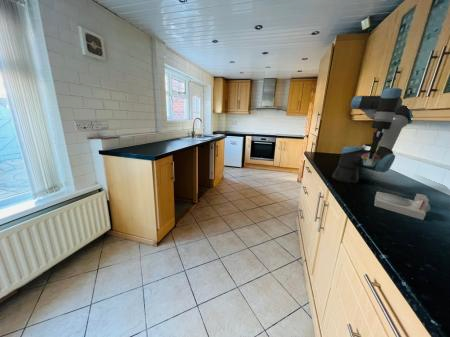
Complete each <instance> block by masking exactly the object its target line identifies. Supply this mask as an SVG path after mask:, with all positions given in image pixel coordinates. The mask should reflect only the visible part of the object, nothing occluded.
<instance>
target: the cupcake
mask: <svg viewBox="0 0 450 337" xmlns="http://www.w3.org/2000/svg"><path fill="white" fill-rule="evenodd" d="M379 146H380V145H379ZM379 146H378V147H377V149H376V152H377V150H378V148H379ZM368 154H369V153H365V154H362V156H361V158H362V159H363V165H365V166H369V167H374V166H375V164H376V163H377V162H378V161H380V160H381V157H380V156H379V155H377V154H376V153H375V156H374V159H373V162H372V165H367V164H365V163H366V160H367V157H368Z"/></svg>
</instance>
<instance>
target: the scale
mask: <svg viewBox="0 0 450 337" xmlns="http://www.w3.org/2000/svg"><path fill="white" fill-rule="evenodd" d="M429 201H430V200H429V199H428V197H427V195H426V194H422V193H416V195H415V196H414V199H409V198H404V197H403V196H399V195H396V194H392V193H387V192H381V191H376V193H375V196H374V207H376V208H381V209H384V210H388V211H390V212H391V211H392V212H395V213H398V214H401V215H404V216H408V217H412V218H415V219H418V220H422V221H424V219H425V217H426V215H427V214H426V213H428V212H429V211H430V210H431V205H430V204H429Z"/></svg>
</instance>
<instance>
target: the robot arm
mask: <svg viewBox="0 0 450 337" xmlns="http://www.w3.org/2000/svg"><path fill="white" fill-rule="evenodd" d="M402 93H403V89H402V88H399V87H387V88H385V89H384V88H383V90H382V92H381V94H380V95H356V96H354V97H353V98H352V100H351V103H350V108H351V109H352V110H360V111H362V112H363V113H364V114H365V116H366V117H367V118H369V119H371V120H373V121H372V125H371V128H372V129H376V131H374V132H373V134H372V135H373V136H372V139H371V140H372V142H371V146H370V148H369V149H366V148H365V147H364V146H356V145H355V146H354V145H353V146H350V145H349V146H344V147H343V148H342V150H341V152H340V158H339V162H338V165H337V168H336V169H335V170H334V172H333V173H332V178H333V179H335V180H337V181H340V182H341V183H348V184H357V183H358V182H359V169H365V170H370V171H373V172H380V173H386V172H388V171H389V170H390V168H391V167H392V165H393V163H394V161H395V159H396V155H395V154H394V151H393V148H394V146H395V144H396V143H397V141H398V138H399V136H400V134H401V131H402V130H403V128H405V127H406V126H407V125H409V124H412V122H413V120H411V118H412V117H413V118H414V116H413V115H412V110H410V109H408V108H407V106H405V105H404V104H403V99H402V97H401V96H402ZM379 145H380V146H379ZM378 146H379V148H378V150H377V152H376V149H377V147H378ZM365 153H369V154H368V157H367V160H366V163H365V164H367V165H372V162H373V159H374V156H375V153H376V154H377V155H379V156H380V157H381V160H380V161H378V162H377V163H376V164H375V166H374V167H369V166H365V165H363V159H362V158H361V156H362V154H365Z"/></svg>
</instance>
